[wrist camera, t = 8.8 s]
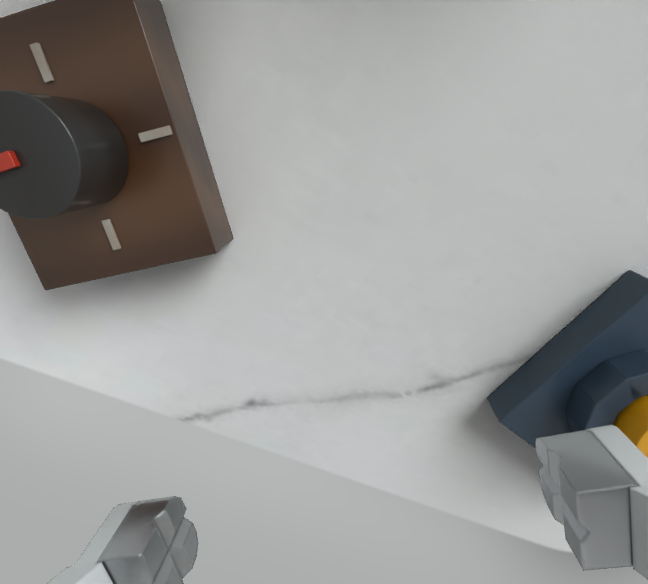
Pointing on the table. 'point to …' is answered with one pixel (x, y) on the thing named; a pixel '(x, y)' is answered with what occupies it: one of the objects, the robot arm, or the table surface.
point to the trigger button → (635, 423)
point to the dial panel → (136, 129)
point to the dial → (57, 155)
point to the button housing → (582, 368)
